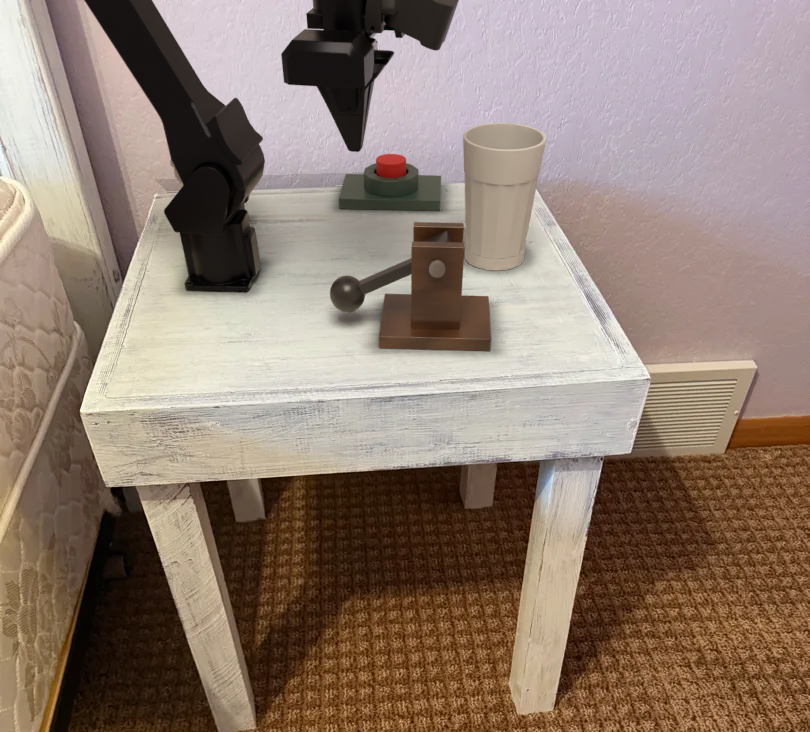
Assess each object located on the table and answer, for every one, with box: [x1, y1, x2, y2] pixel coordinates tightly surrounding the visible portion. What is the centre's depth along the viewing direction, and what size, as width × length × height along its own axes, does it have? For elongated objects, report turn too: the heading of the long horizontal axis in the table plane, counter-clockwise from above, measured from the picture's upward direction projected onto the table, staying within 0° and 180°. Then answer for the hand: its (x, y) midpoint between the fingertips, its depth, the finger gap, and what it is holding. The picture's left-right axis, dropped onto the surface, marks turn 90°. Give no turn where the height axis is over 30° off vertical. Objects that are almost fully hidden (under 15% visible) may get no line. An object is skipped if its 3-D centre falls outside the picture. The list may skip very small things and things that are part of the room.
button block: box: [338, 162, 442, 212], centre depth 92 cm, size 12×8×3 cm, turn 87°
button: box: [375, 153, 407, 178], centre depth 91 cm, size 4×4×2 cm
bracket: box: [378, 221, 492, 352], centre depth 68 cm, size 10×8×9 cm
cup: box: [462, 122, 547, 271], centre depth 77 cm, size 8×8×12 cm
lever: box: [329, 231, 452, 313], centre depth 68 cm, size 12×3×3 cm, turn 88°
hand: (355, 150), depth 67 cm, fingers closed
